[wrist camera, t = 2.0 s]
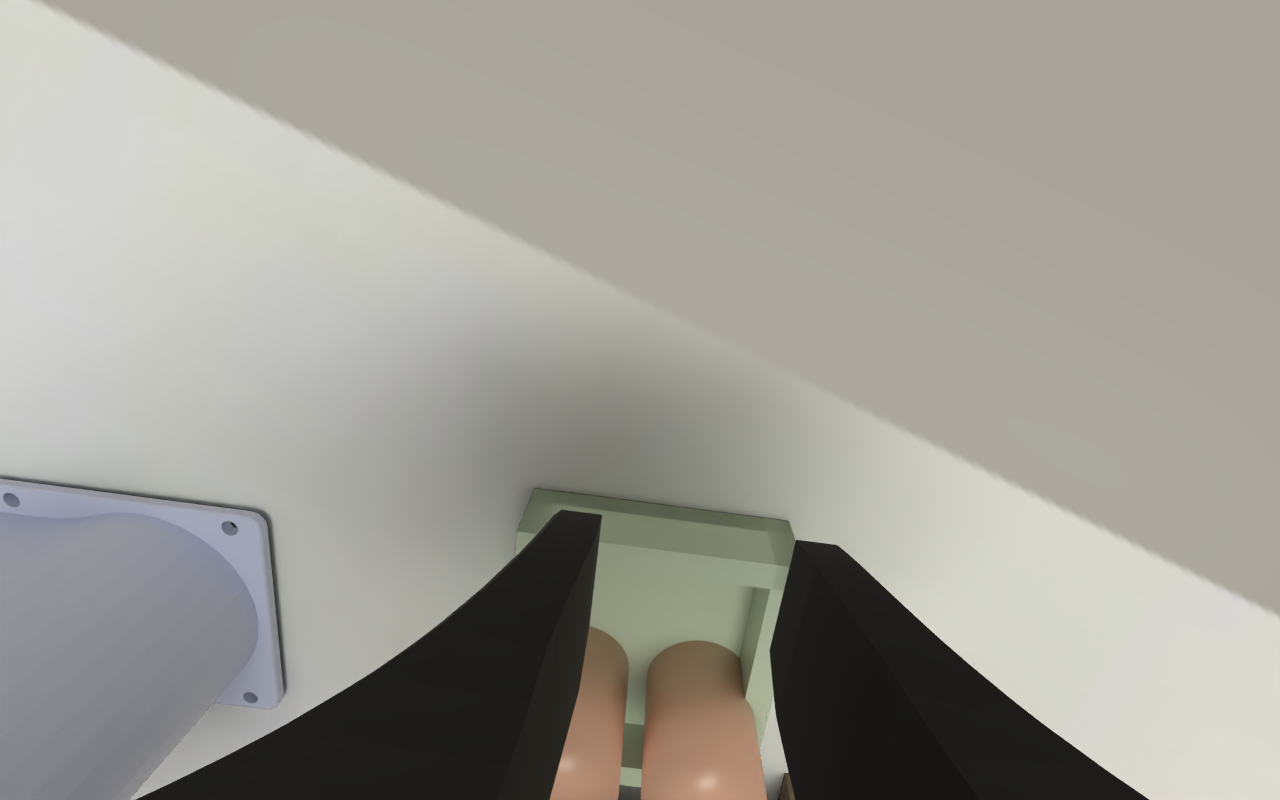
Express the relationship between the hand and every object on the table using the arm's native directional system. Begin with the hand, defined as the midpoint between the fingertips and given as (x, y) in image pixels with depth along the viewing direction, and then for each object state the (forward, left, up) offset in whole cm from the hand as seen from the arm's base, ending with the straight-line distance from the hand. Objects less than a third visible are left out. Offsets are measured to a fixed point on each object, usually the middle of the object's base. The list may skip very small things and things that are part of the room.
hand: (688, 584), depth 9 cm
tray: (0, -8, -9) cm, 13 cm away
